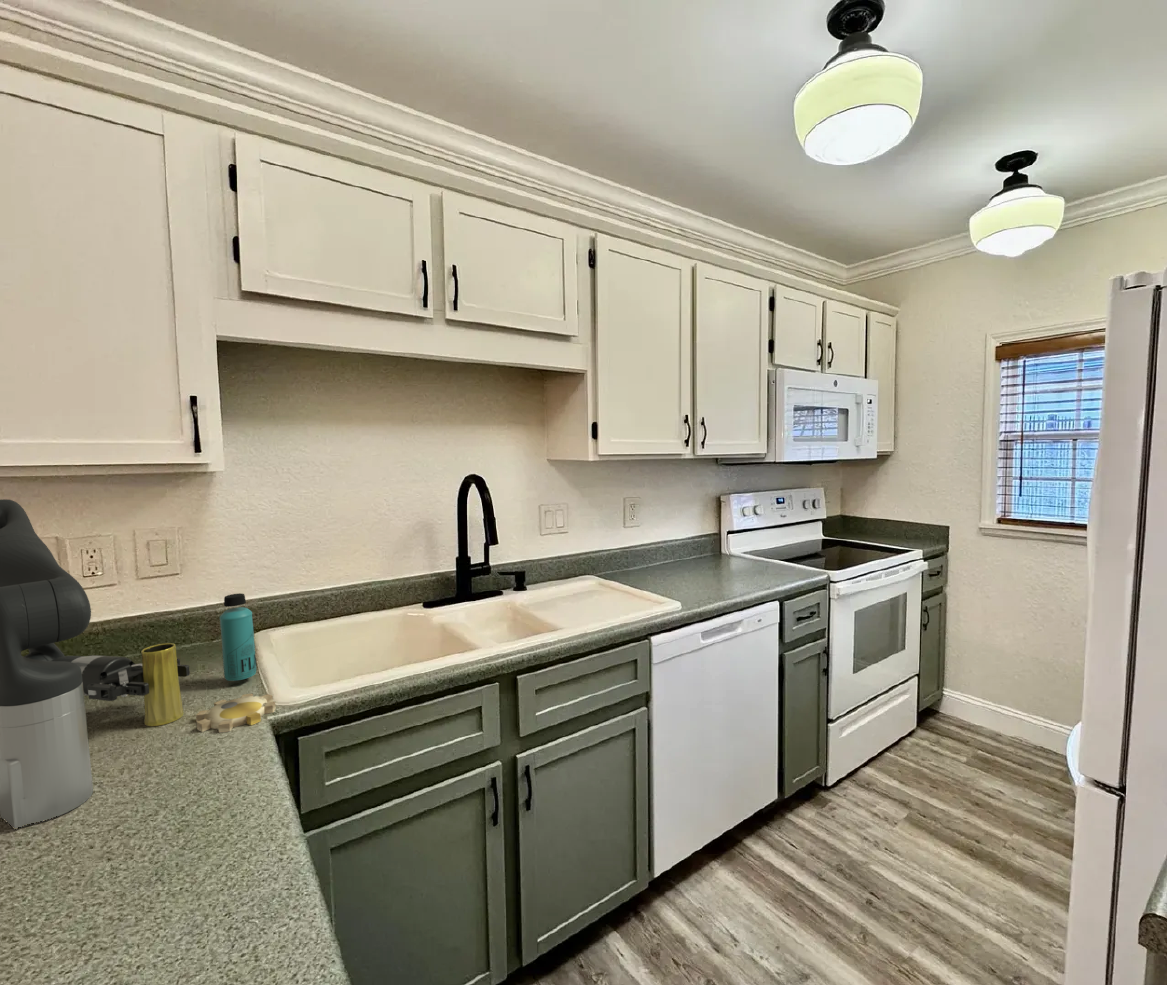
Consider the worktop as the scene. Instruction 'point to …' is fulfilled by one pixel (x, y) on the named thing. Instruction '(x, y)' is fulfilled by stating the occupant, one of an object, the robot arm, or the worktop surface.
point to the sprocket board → (235, 712)
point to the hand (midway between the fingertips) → (168, 679)
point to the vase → (161, 685)
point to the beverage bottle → (237, 640)
